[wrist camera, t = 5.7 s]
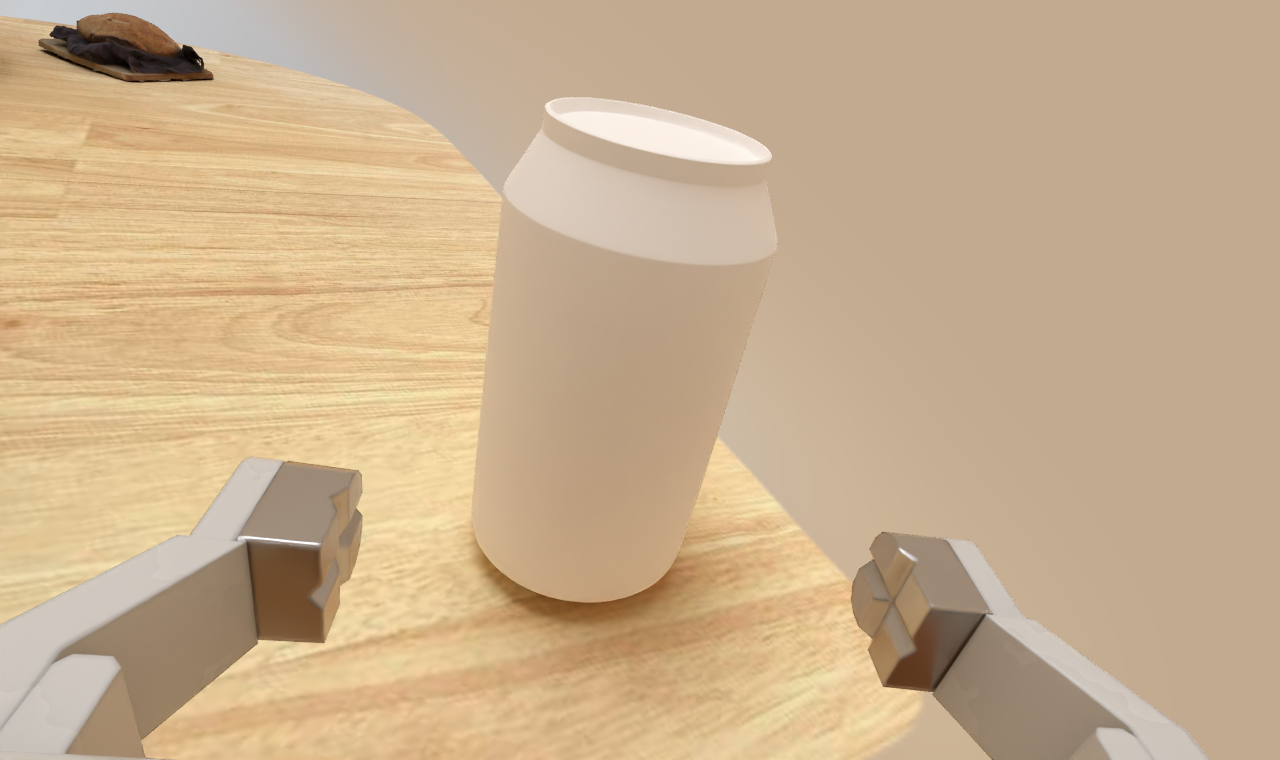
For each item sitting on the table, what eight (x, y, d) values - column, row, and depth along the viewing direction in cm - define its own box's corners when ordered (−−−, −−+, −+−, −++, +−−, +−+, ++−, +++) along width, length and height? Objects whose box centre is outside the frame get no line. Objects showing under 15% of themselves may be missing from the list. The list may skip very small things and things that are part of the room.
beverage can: (436, 497, 21) (465, 77, 15) (608, 456, 24) (688, 102, 18) (524, 658, 17) (613, 167, 11) (716, 581, 20) (864, 178, 14)
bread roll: (29, 50, 54) (17, -2, 53) (138, 50, 61) (130, 4, 60) (120, 83, 52) (110, 29, 50) (223, 79, 58) (218, 32, 57)
